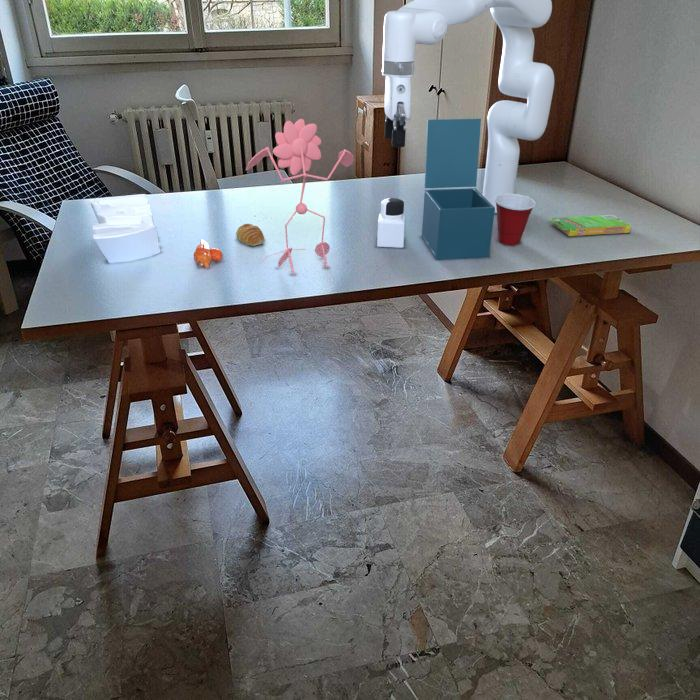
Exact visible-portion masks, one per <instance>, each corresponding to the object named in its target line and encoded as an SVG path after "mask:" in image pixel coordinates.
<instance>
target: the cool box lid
mask: <svg viewBox="0 0 700 700" xmlns="http://www.w3.org/2000/svg"><path fill="white" fill-rule="evenodd" d="M426 122H427V123H426V144H425V145H426V147H425V166H424V167H425V169H424V170H425V171H424V189H452V188H476V187H477V181H478V180H477V179H478V166H479V153H480V142H481V141H480V139H481V127H482V118H446V119H445V118H443V119H442V118H441V119H439V118H438V119H427V120H426Z"/></svg>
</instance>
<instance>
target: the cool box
mask: <svg viewBox="0 0 700 700" xmlns="http://www.w3.org/2000/svg"><path fill="white" fill-rule="evenodd" d="M494 212H495V207H494V206H493V205H492V204H491V203H490V202H489V201H488V200H487V199H486V198H485V197H484V196H483V193H481V192H480V191H479V190H478V188H476V187H466V188H435V189H424V197H423V212H422V227H421V238H422V239H423V241H424V243H425V244H426V246H427V248H428V250H430V253H431V254H432V256H433V257H434V259H435V260H437V261H439V260H458V259H481V258H490V253H491V244H492V235H493V228H494V221H495V213H494Z"/></svg>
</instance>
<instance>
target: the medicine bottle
mask: <svg viewBox="0 0 700 700" xmlns="http://www.w3.org/2000/svg"><path fill="white" fill-rule="evenodd" d="M404 210H405V202H404V201H403V200H402V199H400V198H398V197H388V198H387V197H386V198H384V199H383V200H381V202H380V212H379V214H378V218H377V233H376V235H377V237H376V247H377V248H394V249H404V248H405V235H406V234H405V232H406V216H407V215H406V214H404V212H405V211H404Z"/></svg>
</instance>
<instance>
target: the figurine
mask: <svg viewBox="0 0 700 700" xmlns="http://www.w3.org/2000/svg"><path fill="white" fill-rule="evenodd" d="M317 129H318V126H317V124H316V123H308V124H306V123H305V119H303V118H299V119H297V120H296V121H295V123H293V121H291V120H287V121H285V122H284V125H283V132H281V131H277V132H276V133H275V135H274V138H275V142H276V144H277V145H276V146H275V147H273V150H272V153H273V155H274V156H275V157H277V158H279V159H278V161H277V163H276V161H275V159H274V157H273V155H272V153H271V151H270V147H269V146H266V147H265V148H263V149H261V150H260V151H258V152H257V153H256V154H255V155H254V156H253V157H252V158H251V159H250V160H249V161H248V163H247V165H246V166H245V171H248V170H250V169H251V168H253V167H255V166H256V165H257V164H258V163H259V162H261V161H262V160H263V159H264V158H265V156H266V155H267V154H268V156H269V158H270V160H271V163H272V164H273V167H274V169H275V171H276V173H277V175H278V177H279V179H280V181H281V183H283V182H287V181H291V180H294V179H298V178H301V177H302V186H301V194H300V200H299V203H298V204H297V205H296V206H295V211H294V212H293V214H292V215H291V216H290V218H289V219H288V221H287V222H286V223H285V226H284V230H285V243H286V249H285V250H284V249H283V250H281V251H279V252H275V253H273V254H270V255H267V256H265V257H264V258H263V259H262V260H261V261H260V262H259V264H261V263H262V262H263V261H264V260H266V259H267V258H270V257H271V256H274V255H277V254H280V253H282V255H281V256H280V258H279V259H278V262H277V264H278V265H277V266H278V268H280V267H281V266H282V265H284V263H285V262H286V261H287V260H288V261H289V265H290V270H291V274H292V275H295V270H294V265H293V259H292V256H291V254H292V251H299V250H304V248H295V249H293V248H292V247H289V242H288V228H287V227H288V225H289V224H290V222H291V220H292V219H293V218H294V216H295V215H296V214H299V215H305V214H306V213H307V212H308V213H311V214H314V215H316V216H318V217H321V218H323V219H322V231H321V242H319V243H317V244H316V246H315V248H314V253H315V254H316V255H317V256H319V257H320V258H323V261H324V265H325V266H324V267H325V268H328V262H327V256H326V255H327V254H328V253H329V252H330V249H331V248H330V244H329V243H328V242H326V241H324V235H325V223H326V217H325V216H324V215H322V214H320V213H318V212H315V211H312V210H310V209H308V207H307V205H306V204H305V203H303V198H304V193H305V187H306V181H307V179H306V178H308V177H309V178H313V179H317V180H322V181H326V182H329V180H330V179H331V177H332V176H333V173H334V172H335V171H336V169H337V168H338V166H339V165H340V164H341V165H343V167H346V168H349V167H351V165H353V164H354V161H355V157H354V154H352V152H351V151H349V150H347V149H345V148H344V149H343V150H341V151H339V153H338V155H337V161H336V162H335V164H334V166H333V168H332V169H331V171H330V173H329V174H328V176H327V177H323V176H319V175H313V174H310V173H309V174H308V173H306V172H309V171H310V170H311V168H312V161H320V159H322V152H321V149H320V147H319V146H320V145H321V144H322V139H321V138H320V137H319V136H318V135H316V133H317V131H318V130H317ZM279 168H280V169H285V168H289V172H290V174H291V175H292V176H289V177H285V178H283V176H282V173H281V172H280V169H279ZM301 170H302V172H303V173H300V172H301ZM299 173H300V174H299ZM328 179H329V180H328ZM347 264H350V262H349V261H347Z"/></svg>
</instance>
